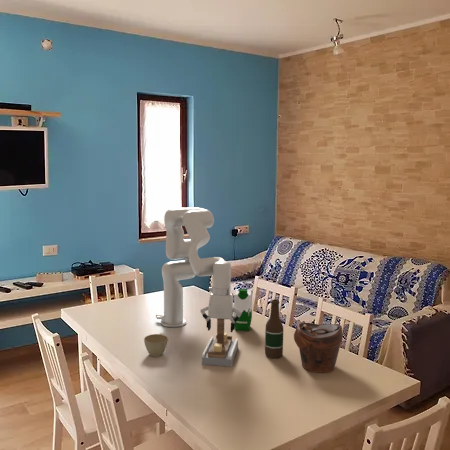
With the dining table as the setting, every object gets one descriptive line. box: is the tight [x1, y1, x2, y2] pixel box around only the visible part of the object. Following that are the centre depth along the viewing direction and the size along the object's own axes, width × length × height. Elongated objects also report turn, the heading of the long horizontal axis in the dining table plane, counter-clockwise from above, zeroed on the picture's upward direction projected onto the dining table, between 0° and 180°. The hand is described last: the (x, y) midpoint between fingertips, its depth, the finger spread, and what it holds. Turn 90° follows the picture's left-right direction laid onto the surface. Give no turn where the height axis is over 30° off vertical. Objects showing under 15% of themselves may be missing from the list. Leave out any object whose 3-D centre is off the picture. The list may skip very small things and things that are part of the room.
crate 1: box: [214, 343, 222, 352], centre depth 197 cm, size 3×3×3 cm
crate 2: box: [224, 332, 228, 342], centre depth 210 cm, size 3×3×3 cm
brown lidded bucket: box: [293, 322, 344, 374], centre depth 194 cm, size 18×20×18 cm
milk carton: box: [233, 288, 253, 332], centre depth 236 cm, size 9×9×20 cm
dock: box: [201, 336, 239, 368], centre depth 204 cm, size 12×20×4 cm, turn 171°
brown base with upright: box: [208, 319, 233, 358], centre depth 203 cm, size 19×7×14 cm, turn 171°
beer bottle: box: [264, 299, 284, 359], centre depth 204 cm, size 8×8×24 cm
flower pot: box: [143, 333, 169, 358], centre depth 204 cm, size 10×10×7 cm
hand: (220, 330), depth 203 cm, fingers open, 9 cm apart
